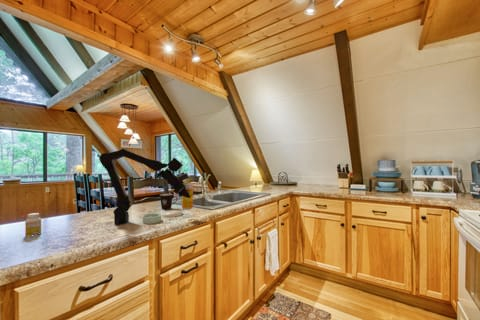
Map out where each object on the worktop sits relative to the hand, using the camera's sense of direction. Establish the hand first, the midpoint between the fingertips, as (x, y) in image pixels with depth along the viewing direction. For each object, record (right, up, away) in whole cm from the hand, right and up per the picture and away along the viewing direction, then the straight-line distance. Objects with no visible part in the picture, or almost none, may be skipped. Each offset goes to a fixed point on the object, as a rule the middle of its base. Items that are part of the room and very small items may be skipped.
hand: (189, 196), depth 127 cm
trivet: (-13, -13, +9) cm, 20 cm away
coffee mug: (-22, -14, +29) cm, 39 cm away
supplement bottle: (-67, -14, -25) cm, 73 cm away
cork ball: (-20, -12, -6) cm, 24 cm away
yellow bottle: (-1, -7, 0) cm, 7 cm away
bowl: (-20, -13, -6) cm, 25 cm away
